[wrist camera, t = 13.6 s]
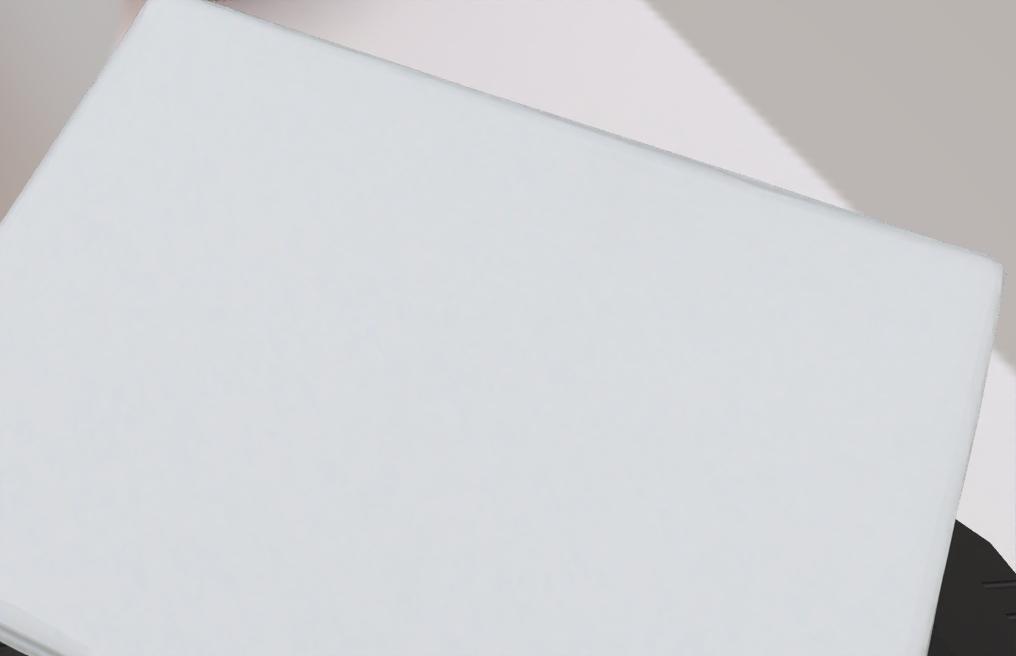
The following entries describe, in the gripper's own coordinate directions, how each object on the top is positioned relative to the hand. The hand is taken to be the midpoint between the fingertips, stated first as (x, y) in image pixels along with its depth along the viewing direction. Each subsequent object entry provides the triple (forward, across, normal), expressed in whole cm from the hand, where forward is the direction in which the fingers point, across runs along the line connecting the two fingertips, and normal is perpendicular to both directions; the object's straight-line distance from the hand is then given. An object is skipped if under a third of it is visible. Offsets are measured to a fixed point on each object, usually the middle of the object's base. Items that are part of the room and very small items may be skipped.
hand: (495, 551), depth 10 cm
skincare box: (+5, 0, +4) cm, 6 cm away
